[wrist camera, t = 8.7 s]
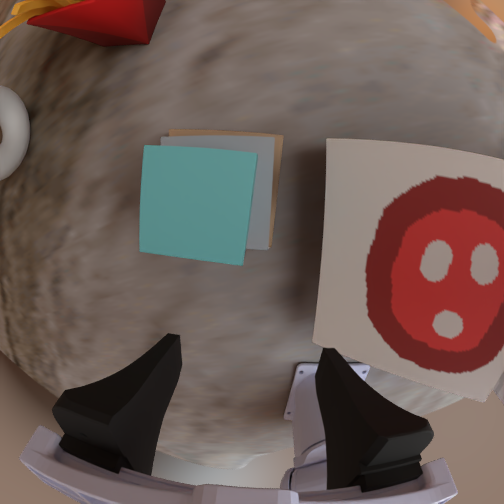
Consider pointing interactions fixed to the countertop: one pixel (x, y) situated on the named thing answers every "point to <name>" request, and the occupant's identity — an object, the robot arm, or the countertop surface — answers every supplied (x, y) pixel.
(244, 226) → the teal cube
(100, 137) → the countertop surface
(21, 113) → the donut
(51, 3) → the french fries
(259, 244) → the tower top
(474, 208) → the stacked pizza boxes
